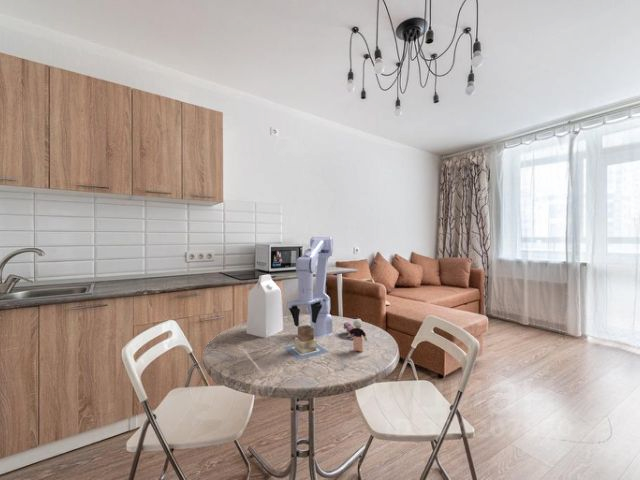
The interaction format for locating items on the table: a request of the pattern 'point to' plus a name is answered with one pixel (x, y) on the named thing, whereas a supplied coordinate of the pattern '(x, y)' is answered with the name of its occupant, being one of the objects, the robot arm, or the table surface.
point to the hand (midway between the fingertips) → (305, 323)
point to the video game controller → (348, 328)
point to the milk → (264, 308)
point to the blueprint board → (299, 355)
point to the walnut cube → (305, 333)
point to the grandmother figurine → (358, 335)
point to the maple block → (305, 346)
